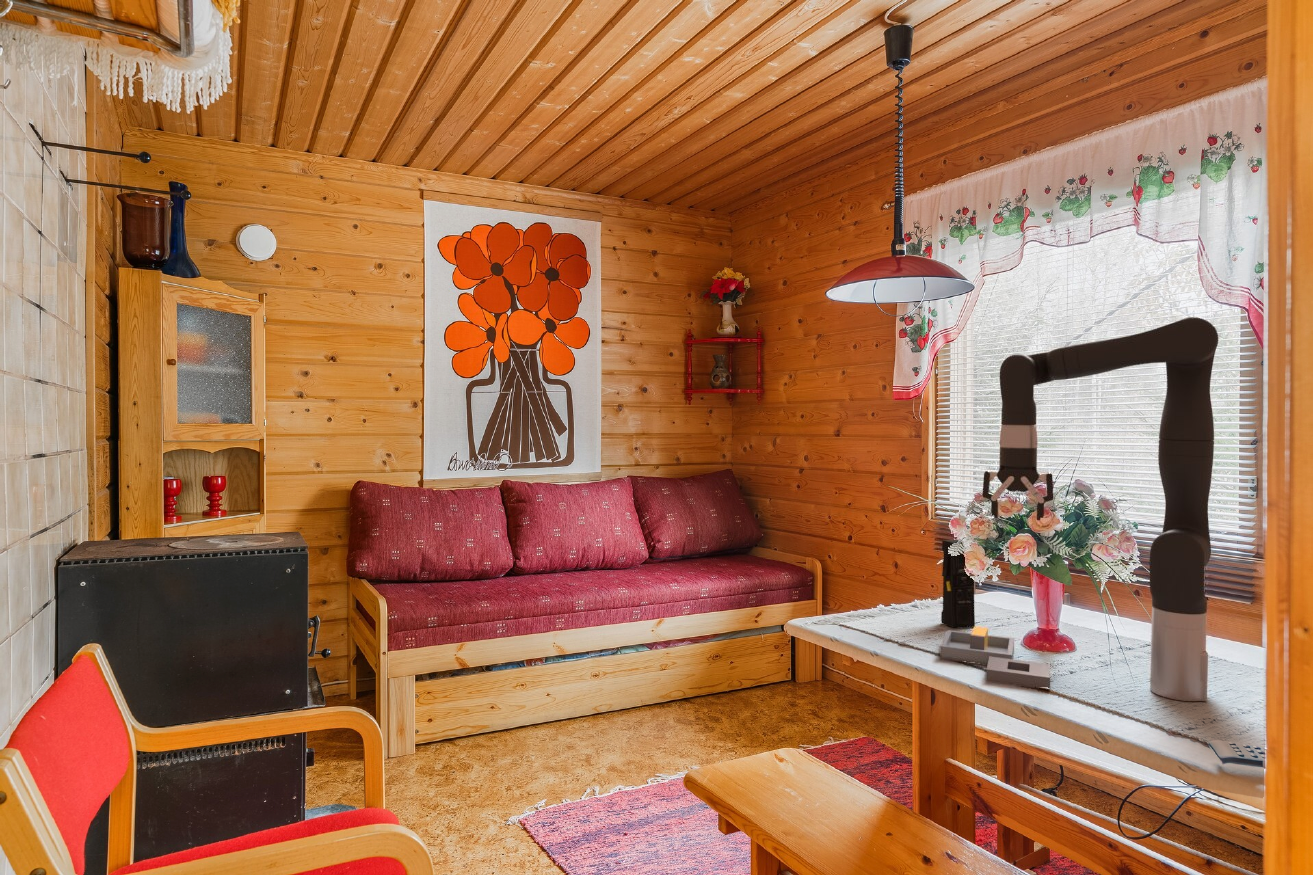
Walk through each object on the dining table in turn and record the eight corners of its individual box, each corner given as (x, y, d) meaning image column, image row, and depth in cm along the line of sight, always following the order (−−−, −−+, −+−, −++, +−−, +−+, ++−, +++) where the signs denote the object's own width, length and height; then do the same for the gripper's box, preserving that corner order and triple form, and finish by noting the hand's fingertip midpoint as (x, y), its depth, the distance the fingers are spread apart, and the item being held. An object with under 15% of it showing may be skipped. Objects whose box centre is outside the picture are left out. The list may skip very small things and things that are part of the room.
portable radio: (950, 629, 207) (952, 534, 207) (936, 623, 213) (938, 530, 212) (976, 627, 209) (978, 533, 209) (962, 621, 215) (963, 529, 215)
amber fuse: (988, 627, 189) (984, 637, 182) (987, 646, 190) (983, 656, 182) (974, 626, 191) (970, 635, 183) (974, 644, 191) (969, 654, 183)
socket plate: (1049, 675, 171) (1049, 663, 171) (1049, 689, 162) (1050, 677, 162) (989, 667, 176) (989, 656, 176) (986, 680, 167) (986, 669, 167)
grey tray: (1014, 650, 189) (1014, 637, 189) (1011, 668, 176) (1011, 654, 176) (947, 642, 196) (947, 630, 196) (940, 658, 182) (940, 646, 182)
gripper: (1054, 445, 176) (1052, 518, 176) (984, 444, 182) (983, 515, 182) (1054, 446, 169) (1053, 522, 169) (982, 445, 175) (981, 518, 176)
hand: (1017, 518), depth 176 cm, fingers open, 8 cm apart
